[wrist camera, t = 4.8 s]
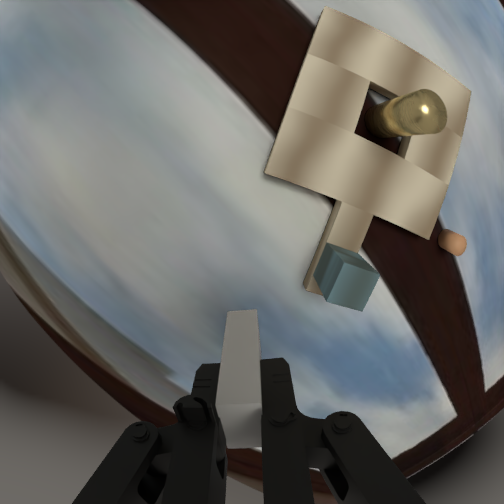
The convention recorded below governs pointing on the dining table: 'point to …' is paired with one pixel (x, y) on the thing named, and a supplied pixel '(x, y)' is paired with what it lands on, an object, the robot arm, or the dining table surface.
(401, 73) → the light wooden flat board
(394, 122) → the post
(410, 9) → the dining table surface
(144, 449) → the robot arm
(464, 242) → the dowel
